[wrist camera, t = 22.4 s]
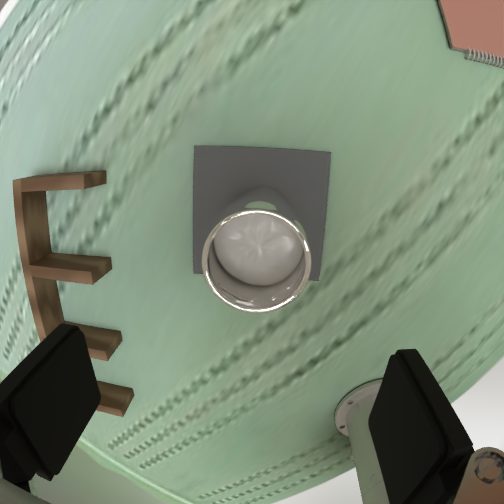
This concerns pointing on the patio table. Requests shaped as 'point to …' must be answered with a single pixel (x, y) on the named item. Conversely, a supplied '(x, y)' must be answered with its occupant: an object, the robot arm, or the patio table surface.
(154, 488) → the patio table surface
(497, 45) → the notebook
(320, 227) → the rubber mat
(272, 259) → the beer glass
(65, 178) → the slot rack
